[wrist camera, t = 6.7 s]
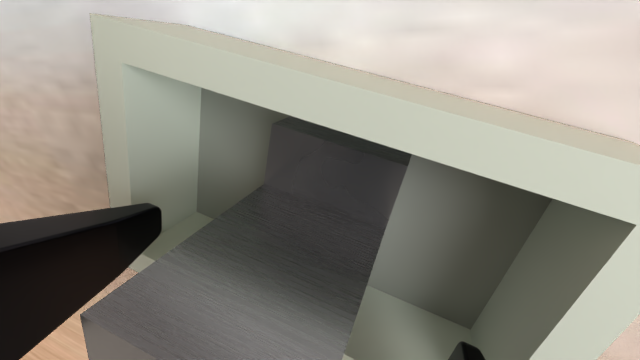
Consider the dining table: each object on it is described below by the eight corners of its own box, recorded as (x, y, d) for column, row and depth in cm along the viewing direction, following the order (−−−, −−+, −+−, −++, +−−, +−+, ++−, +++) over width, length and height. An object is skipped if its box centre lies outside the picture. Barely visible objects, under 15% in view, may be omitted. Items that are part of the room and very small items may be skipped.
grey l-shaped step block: (370, 270, 12) (278, 539, 5) (277, 231, 13) (100, 418, 6) (413, 148, 10) (350, 347, 3) (297, 113, 11) (58, 207, 4)
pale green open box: (486, 353, 12) (501, 459, 9) (183, 218, 15) (115, 261, 12) (632, 142, 8) (751, 196, 5) (186, 25, 11) (89, 13, 8)
